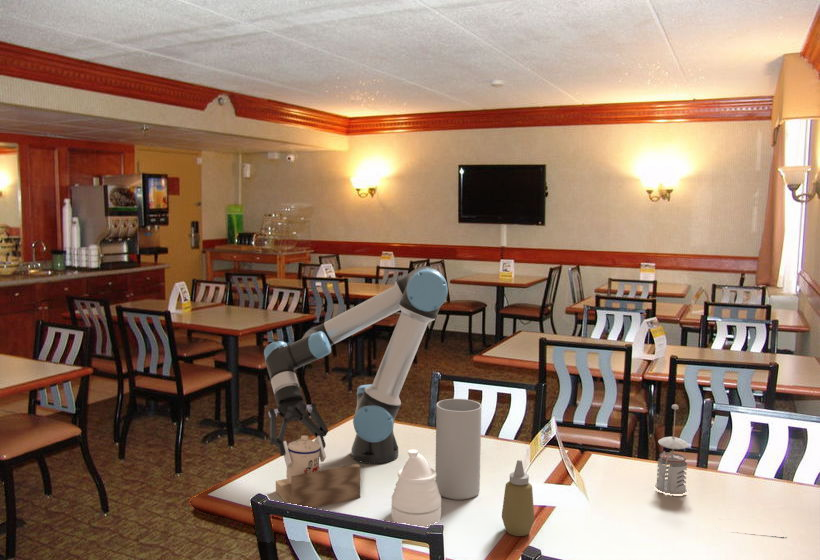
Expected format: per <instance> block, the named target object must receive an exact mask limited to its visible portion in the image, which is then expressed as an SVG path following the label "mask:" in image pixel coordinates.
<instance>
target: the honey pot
mask: <svg viewBox="0 0 820 560" xmlns="http://www.w3.org/2000/svg"><path fill="white" fill-rule="evenodd" d="M407 454H408V457H409V458H408V459H407V461H406V462H405V464H404V465H403V467H402V468H400V469H399V470H398V471H397V477H398V480H397V481H396V483H395V487H394V489H393V493H392V495H391V515H390V516H391V520H392V521H393V520H394V521H393V522H394V523H396V522H398V523H406V524H410V525H417V526H427V525H428V526H429V525H430V524H434V523H435V522H438V521H439V520H440V521H441V519H442V496H441V495H440V493H439V490H438V486H437V483H436V482H435V478H436V475H437V474H436V472H435V469H433V468H431V466H430V464H429V463H428V461H427V460H426V458H425V456H424V455H422V454H420V453H419V451H418V450H417V449H409V450H407ZM440 518H441V519H440ZM440 521H439V522H440ZM439 522H438V523H439ZM429 527H430V526H429Z"/></svg>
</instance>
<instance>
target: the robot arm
mask: <svg viewBox="0 0 820 560" xmlns="http://www.w3.org/2000/svg"><path fill="white" fill-rule="evenodd" d="M448 293H449V289H448V283H447V280H446V278H445V277H444V275H443V274H442V272H440V270H438V269H437V268H436V267H433V266H429V265H423V266H418V267H416V268H415V269H413V270H412V271H410V272H409V273H408V274H406V275H404V276H403V277H401V278H399V279H398V280H396V281H395V282H394V284H393V286H391V287H389V288H387V289H386V290H384V291H382V292H380V293H377V294H376V295H374V296H372V297H370V298H369V299H366V300H364V301H363V302H361V303H359V304H357V305H356V306H355V305H354V306H353V307H352V308H349V309H347V310H346V311H344V312H342V313H340V314H338V315H336V316H334V317H332V318H330V319H329V320H326V321H324V323H321V324H319V325H317V326H314V327H311V328H309V329H308V330H306V332H305V333H304V334H303V336H302V338H301V339H299V340H297V341H295V342H292V343H289V344H288V343H286V342H285V341H281V340H279V341H278V340H277V341H276V342H275V341H273V342H271V343H269V344H268V345H266V347H264V350H263V356H264V360H265V361H264V362H265V366H266V369H267V373H268V375H269V380H270V384H271V387H272V391H273V394H274V399H275V402H276V403H275V404H276V406H277V408H270V409H269V410H268V413H267V417H268V418H269V444H270V445H271V446H272V445H275V446H276V447H277V448H278V452H279V456H281V457H283V459H284V462H285V466H286V469H287V468H289V467H290V466H291V464H292V461H291V458H290V454H289V450H288V443H287V440H284V439H285V438H284V437H285V434H286V429H287V427H288V423H290V422H293V421H296V422H297V421H299V422H300V423H301V424H303V425H304V426H305V427H306V428H307V429H308V430H309V431H310V432H311V433H312V435H313V436H314V437H315V439H314V441H315V442H317V443H318V444H319V445H320V447H321V449H320V453H319V461H320V463H321V462H324V461H325V459H326V458H327V456H326V452H325V448H326V446H327V445H326V442H325V438H324V437H326V436H327V434H328V433H329V429H328V427H327V426H326V424H325V422H324V420H323V418H322V416H321V415H320V414H319V412H318V409H317V404H316V403H315V402H313V403H311V404H306V403H305V401H304V399H303V398H304V397H303V395H302V391H301V390H302V389H301V388H300V383H299V381H298V380H299V379H298V377H297V373H296V370H297V369H299V368H301V367H303V366H306V365H308V364H311V363H313V362H315V361H317V360H319V359H323V358H324V357H326V356H329V354H331V353H332V346H333V345H335V344H337V343H339V342H342V341H343V340H345V339H347V338H348V337H351V336H353V335H354V334H356V333H358V332H360V331H363V330H364V329H366V328H368V327H370V326H371V325H374V324H375V323H377V322H379V321H381V320H383V319H385V318H387V317H389V316H391V315H393V314H395V313H397V312H399V311H401V312H400V315H399V317H398V320H397V322H396V325H395V327H394V330H393V332H392V335H391V337H390V340H389V343H388V344H387V346H386V350H385V351H384V355H383V356H382V360H381V362H380V364H379V368H378V369H377V372H376V375H375V377H374V379H373V382H372V384H371V383H370V384H362V385H359V386H358V387H357V391H356V397H357V398H356V407H355V411H354V416H353V418H352V423H353V424H352V425H353V428H354V431H355V433H356V435H355V438H354V440H353V443H352V447H351V458H352V459H353V460H355V461H357V462H358V463H359V462H360V463H365V464H385V463H389V462H392V461H394V460H396V459H398V458H399V447H398V444H397V439H396V436H395V433H394V425H395V423H394V421H395V419H396V417H397V414H398V412H399V409H400V407H401V405H402V402H401V399H400V394H401V391H402V388H403V386H404V383H405V381H406V378H407V376H408V375H409V374H408V373H409V371H410V369H411V366H412V364H413V361H414V359H415V356H416V354H417V352H418V349H419V346H420V344H421V342H422V339H423V337H424V334H425V332H426V330H427V327H428V324H429V323H431V322H433V321H436V318H437V316H438V314H439V311H440V308H441V306H442V305H444V303H445V302H446V300H447V297H448ZM306 410H307V412H308V413H309V414H310V416H311V418H312V419H311V418H310V416H309V414H308V413H307V412H306ZM278 415H279V416H280V417H281V418H282V422H281V426H280V430H279V433H278V437H277V416H278Z"/></svg>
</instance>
